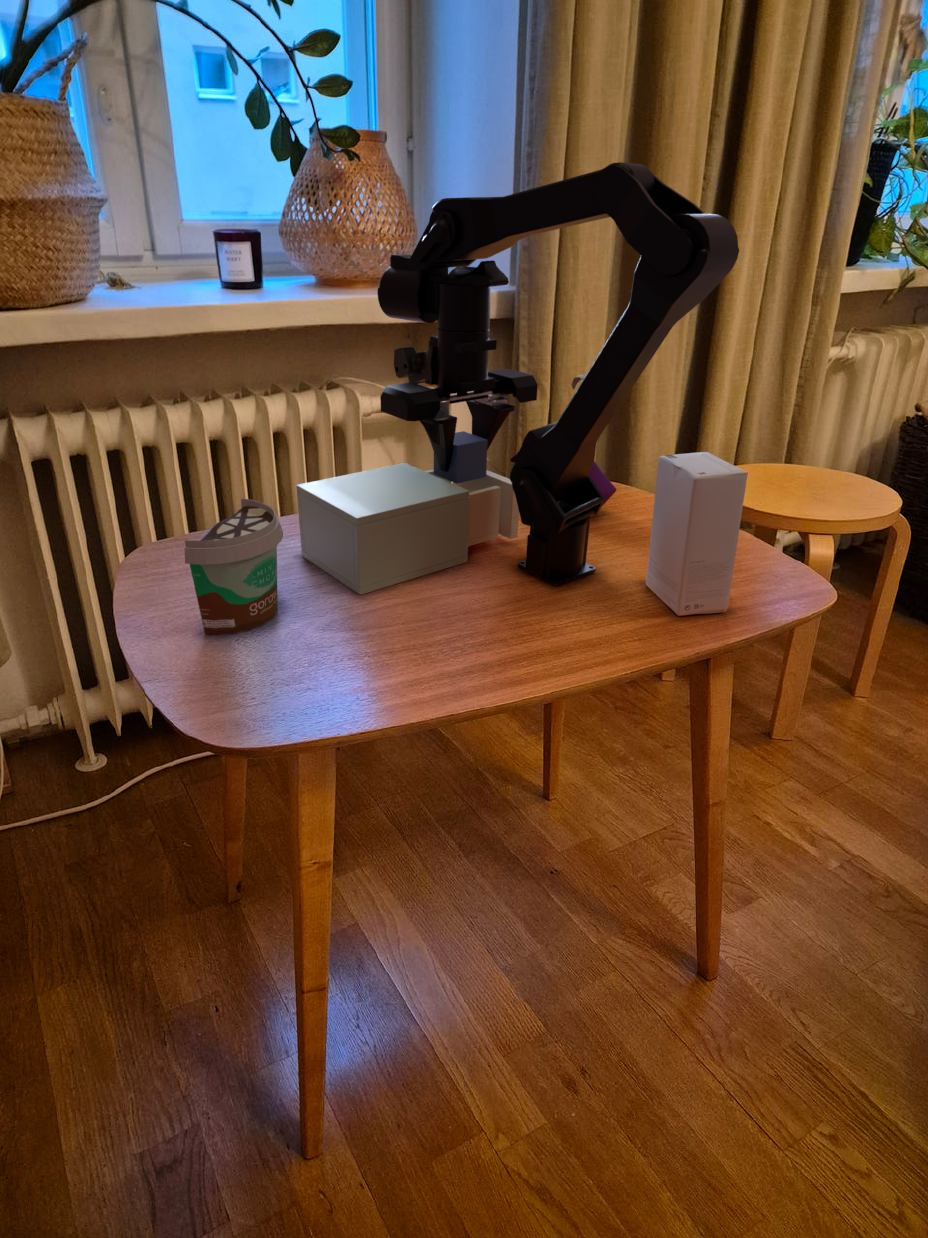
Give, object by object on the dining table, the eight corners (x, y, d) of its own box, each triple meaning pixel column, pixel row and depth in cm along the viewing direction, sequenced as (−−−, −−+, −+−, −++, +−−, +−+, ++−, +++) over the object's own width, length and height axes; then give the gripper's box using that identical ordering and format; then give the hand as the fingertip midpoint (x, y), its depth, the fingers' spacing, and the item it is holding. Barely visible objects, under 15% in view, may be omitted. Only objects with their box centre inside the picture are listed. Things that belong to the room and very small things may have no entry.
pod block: (462, 467, 97) (463, 430, 95) (486, 476, 94) (487, 439, 92) (433, 473, 95) (433, 436, 93) (456, 483, 92) (457, 445, 90)
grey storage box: (405, 528, 100) (404, 462, 96) (467, 561, 92) (469, 490, 88) (301, 556, 92) (296, 484, 88) (360, 595, 84) (356, 518, 80)
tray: (484, 503, 107) (486, 453, 103) (543, 529, 99) (547, 476, 96) (372, 532, 97) (370, 478, 93) (428, 564, 89) (428, 506, 86)
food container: (258, 649, 73) (247, 549, 69) (197, 641, 74) (181, 542, 70) (308, 592, 84) (301, 502, 79) (253, 585, 85) (243, 496, 80)
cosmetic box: (727, 613, 82) (755, 473, 75) (673, 618, 81) (697, 476, 74) (689, 578, 89) (712, 448, 82) (639, 583, 88) (657, 451, 81)
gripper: (481, 313, 97) (477, 439, 105) (350, 324, 87) (356, 463, 94) (544, 325, 90) (535, 460, 97) (409, 339, 79) (411, 489, 87)
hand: (460, 467), depth 94 cm, fingers closed on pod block, 4 cm apart
